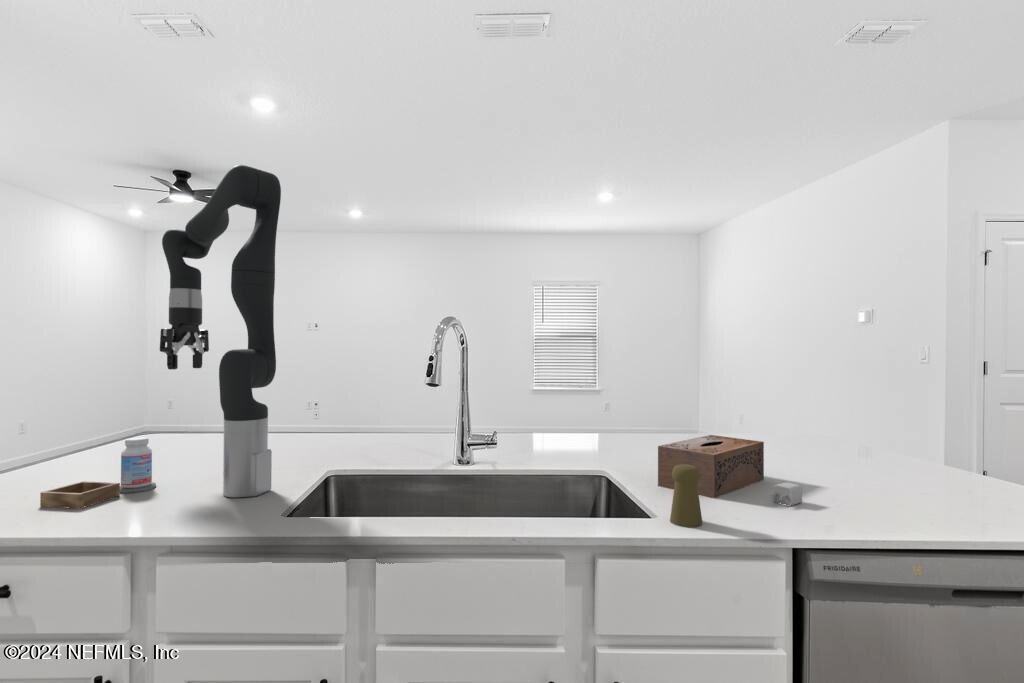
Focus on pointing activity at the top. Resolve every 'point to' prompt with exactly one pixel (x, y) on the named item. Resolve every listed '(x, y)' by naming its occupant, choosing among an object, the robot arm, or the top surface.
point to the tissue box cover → (714, 463)
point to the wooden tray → (79, 494)
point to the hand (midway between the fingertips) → (185, 368)
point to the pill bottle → (136, 463)
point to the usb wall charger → (787, 493)
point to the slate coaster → (130, 490)
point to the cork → (686, 497)
